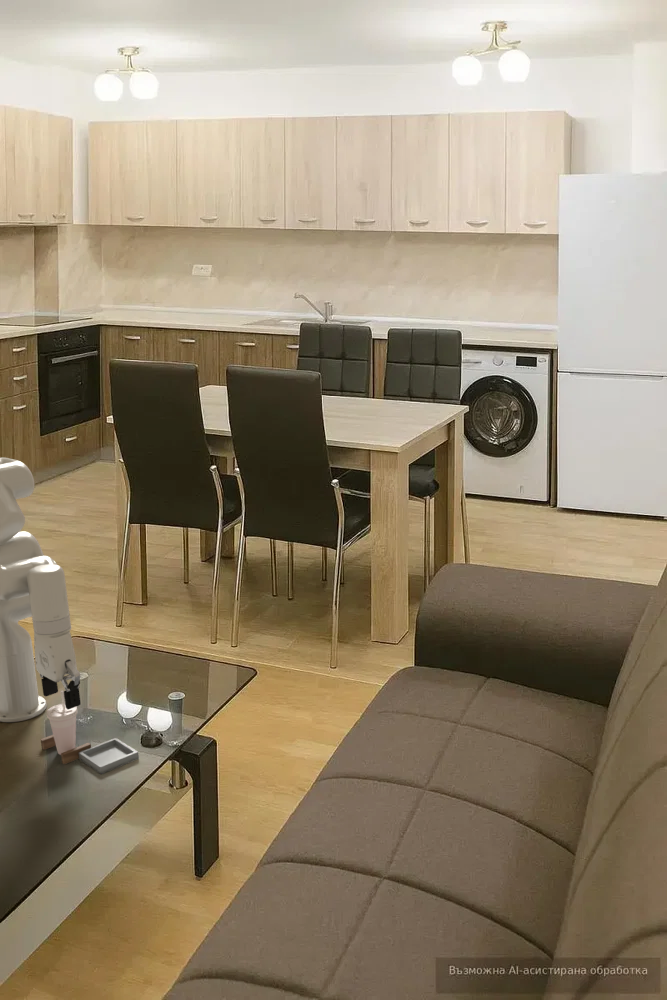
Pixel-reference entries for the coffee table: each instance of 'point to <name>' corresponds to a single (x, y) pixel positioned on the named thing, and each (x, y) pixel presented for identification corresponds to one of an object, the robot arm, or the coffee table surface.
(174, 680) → the coffee table surface
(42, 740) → the brown parallel rails
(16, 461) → the robot arm
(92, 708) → the coffee table surface
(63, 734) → the smoothie
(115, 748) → the tray
